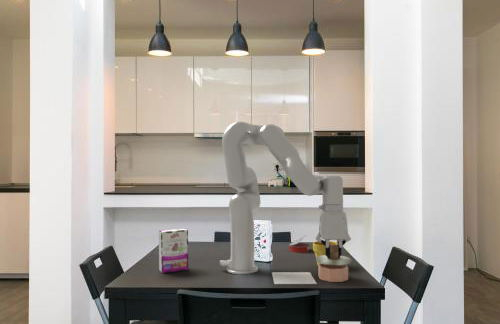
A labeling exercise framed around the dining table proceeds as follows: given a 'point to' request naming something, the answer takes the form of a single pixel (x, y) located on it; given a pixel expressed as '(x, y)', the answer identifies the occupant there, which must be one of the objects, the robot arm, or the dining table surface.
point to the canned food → (298, 246)
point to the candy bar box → (173, 250)
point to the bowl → (333, 272)
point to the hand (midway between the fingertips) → (333, 257)
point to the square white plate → (293, 278)
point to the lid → (333, 257)
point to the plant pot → (320, 248)
